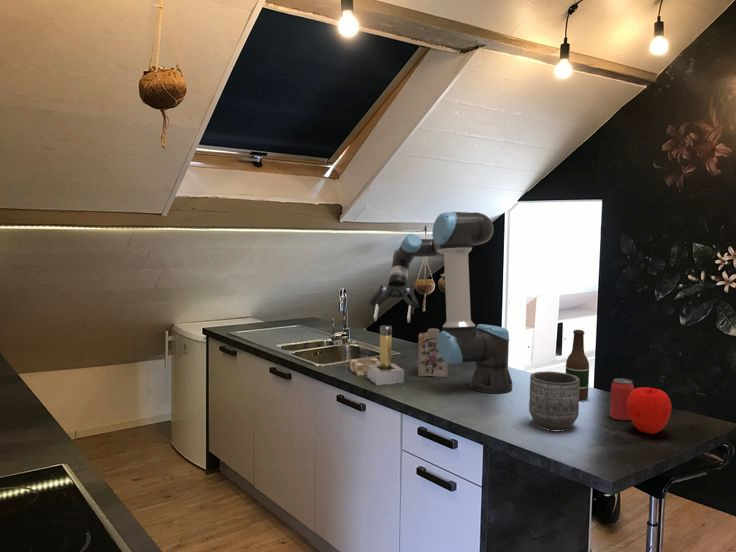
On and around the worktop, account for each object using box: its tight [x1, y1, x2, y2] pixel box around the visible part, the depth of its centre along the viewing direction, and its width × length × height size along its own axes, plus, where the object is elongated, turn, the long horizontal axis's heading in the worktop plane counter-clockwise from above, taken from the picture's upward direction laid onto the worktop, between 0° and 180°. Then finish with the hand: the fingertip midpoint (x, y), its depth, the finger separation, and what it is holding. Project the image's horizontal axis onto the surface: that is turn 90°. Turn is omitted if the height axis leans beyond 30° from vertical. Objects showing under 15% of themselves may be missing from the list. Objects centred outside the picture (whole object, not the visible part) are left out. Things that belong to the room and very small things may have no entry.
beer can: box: [609, 377, 635, 422], centre depth 186 cm, size 7×7×12 cm
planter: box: [528, 371, 580, 432], centre depth 178 cm, size 14×14×15 cm
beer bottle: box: [565, 329, 590, 402], centre depth 207 cm, size 8×8×24 cm
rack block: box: [349, 357, 380, 376], centre depth 243 cm, size 11×11×4 cm
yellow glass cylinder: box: [379, 325, 393, 370], centre depth 228 cm, size 4×4×21 cm
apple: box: [626, 386, 672, 435], centre depth 173 cm, size 12×12×13 cm
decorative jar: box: [417, 328, 449, 378], centre depth 240 cm, size 12×12×18 cm
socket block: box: [366, 363, 405, 386], centre depth 229 cm, size 11×11×5 cm
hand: (391, 319), depth 239 cm, fingers open, 13 cm apart
